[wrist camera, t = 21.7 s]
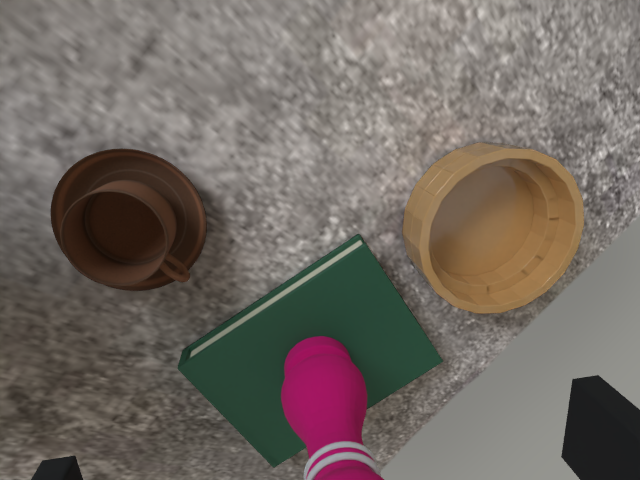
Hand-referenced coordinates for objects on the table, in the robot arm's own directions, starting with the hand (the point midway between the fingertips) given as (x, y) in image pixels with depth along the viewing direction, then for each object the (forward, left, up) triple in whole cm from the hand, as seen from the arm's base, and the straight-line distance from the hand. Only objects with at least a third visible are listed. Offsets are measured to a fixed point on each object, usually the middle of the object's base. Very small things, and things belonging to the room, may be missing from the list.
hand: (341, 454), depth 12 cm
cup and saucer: (-11, +6, -29) cm, 31 cm away
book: (-6, -14, -29) cm, 33 cm away
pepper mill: (-6, -14, -26) cm, 30 cm away
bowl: (+14, -12, -29) cm, 34 cm away
